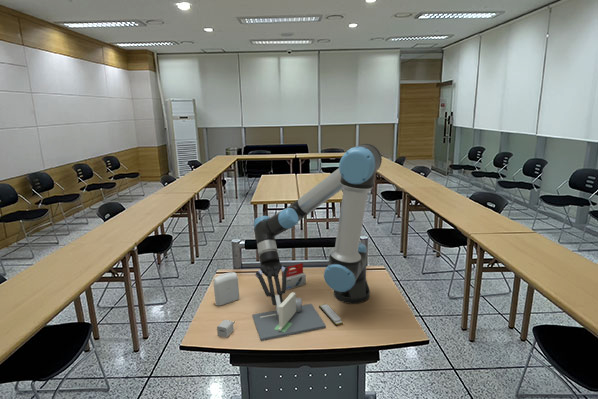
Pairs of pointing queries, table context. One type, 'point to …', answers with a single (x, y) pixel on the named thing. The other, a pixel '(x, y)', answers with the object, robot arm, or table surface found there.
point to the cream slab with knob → (289, 309)
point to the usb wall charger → (225, 328)
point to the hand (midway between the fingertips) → (279, 313)
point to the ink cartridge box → (295, 276)
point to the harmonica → (331, 315)
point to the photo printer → (226, 288)
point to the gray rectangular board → (297, 324)
